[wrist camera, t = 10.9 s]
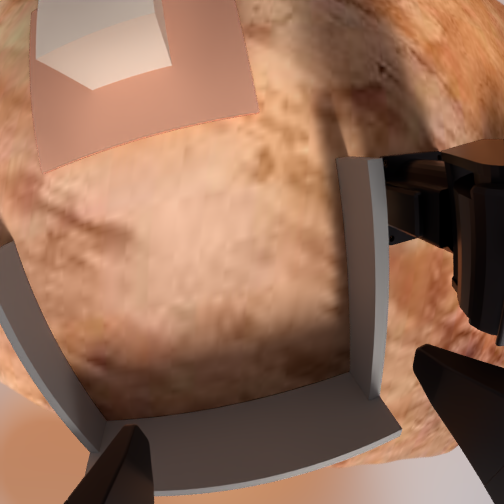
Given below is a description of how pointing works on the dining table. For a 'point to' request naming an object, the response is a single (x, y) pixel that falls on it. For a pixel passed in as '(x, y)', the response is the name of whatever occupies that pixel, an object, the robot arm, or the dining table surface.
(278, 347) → the dining table surface
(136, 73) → the ivory block
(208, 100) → the terracotta mat
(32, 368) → the open u-shaped enclosure
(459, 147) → the robot arm
